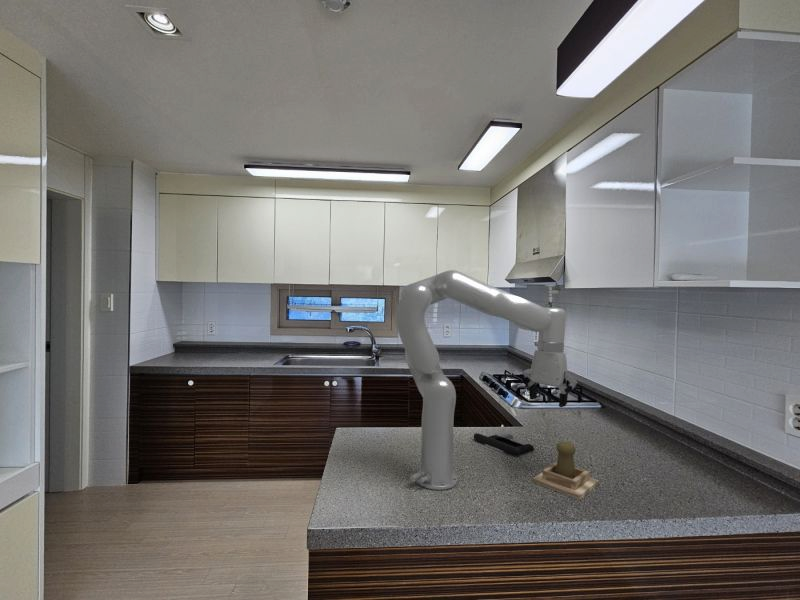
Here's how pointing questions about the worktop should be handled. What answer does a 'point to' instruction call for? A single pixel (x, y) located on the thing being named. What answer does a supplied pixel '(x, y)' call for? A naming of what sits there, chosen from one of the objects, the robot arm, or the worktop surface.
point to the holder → (567, 482)
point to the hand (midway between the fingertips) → (547, 402)
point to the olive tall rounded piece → (565, 459)
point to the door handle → (504, 444)
